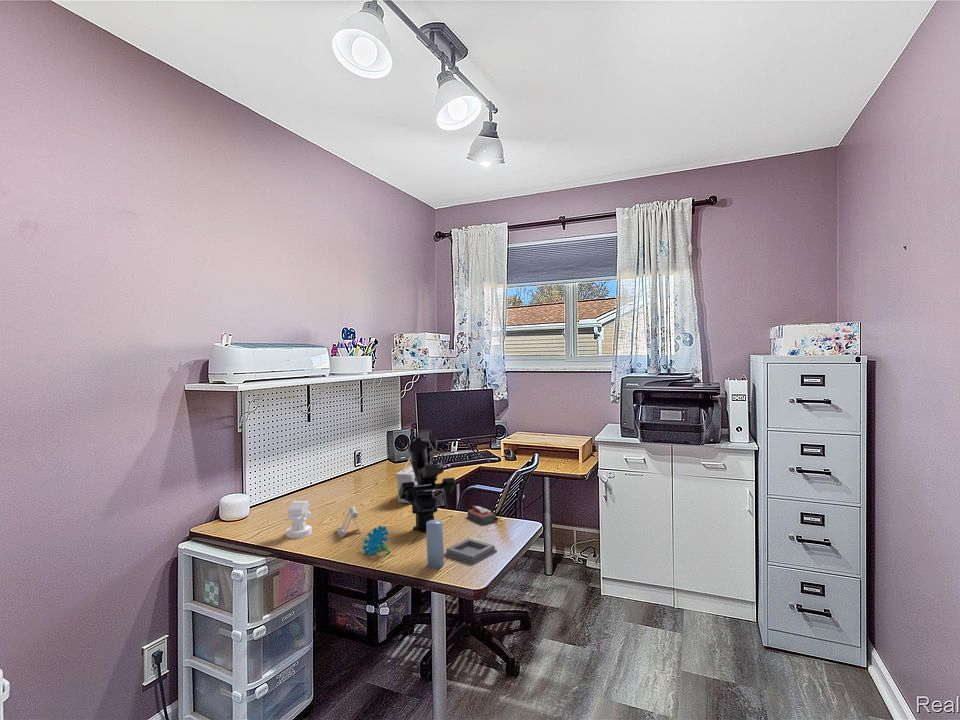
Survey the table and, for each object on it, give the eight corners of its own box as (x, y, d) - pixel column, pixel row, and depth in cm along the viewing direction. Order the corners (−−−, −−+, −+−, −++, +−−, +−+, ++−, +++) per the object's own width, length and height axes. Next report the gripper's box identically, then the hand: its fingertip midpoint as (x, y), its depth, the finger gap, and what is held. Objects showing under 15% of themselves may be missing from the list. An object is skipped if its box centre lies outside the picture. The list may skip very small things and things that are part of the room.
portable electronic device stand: (337, 530, 182) (336, 508, 182) (358, 527, 184) (358, 505, 184) (339, 538, 174) (338, 514, 174) (361, 535, 176) (361, 511, 176)
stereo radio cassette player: (412, 504, 212) (411, 458, 212) (395, 503, 214) (393, 458, 214) (430, 491, 232) (429, 449, 232) (414, 491, 234) (412, 449, 234)
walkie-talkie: (503, 521, 187) (474, 509, 204) (503, 510, 187) (474, 498, 204) (484, 526, 182) (456, 513, 199) (484, 514, 182) (456, 502, 199)
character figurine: (315, 530, 183) (314, 498, 183) (303, 539, 173) (302, 505, 173) (293, 529, 184) (292, 498, 184) (280, 539, 174) (279, 505, 174)
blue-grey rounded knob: (424, 565, 148) (422, 523, 148) (435, 560, 152) (434, 518, 152) (435, 570, 145) (434, 526, 145) (447, 564, 149) (446, 521, 149)
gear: (356, 545, 162) (377, 520, 165) (368, 554, 165) (387, 529, 168) (371, 560, 153) (392, 533, 157) (383, 568, 156) (403, 542, 160)
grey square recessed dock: (444, 555, 156) (444, 548, 156) (468, 543, 165) (468, 537, 165) (473, 564, 148) (473, 557, 148) (497, 551, 158) (496, 545, 158)
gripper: (401, 457, 159) (413, 496, 148) (453, 453, 167) (468, 490, 156) (393, 479, 165) (404, 518, 154) (444, 474, 173) (458, 511, 162)
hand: (435, 509), depth 156 cm, fingers open, 9 cm apart
